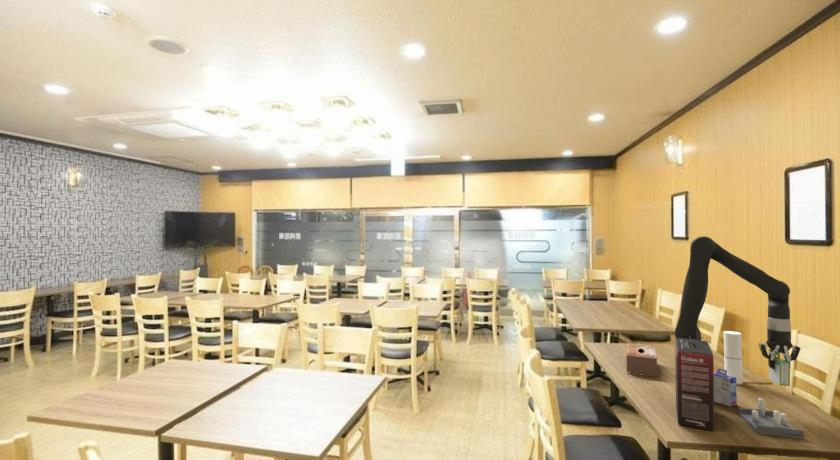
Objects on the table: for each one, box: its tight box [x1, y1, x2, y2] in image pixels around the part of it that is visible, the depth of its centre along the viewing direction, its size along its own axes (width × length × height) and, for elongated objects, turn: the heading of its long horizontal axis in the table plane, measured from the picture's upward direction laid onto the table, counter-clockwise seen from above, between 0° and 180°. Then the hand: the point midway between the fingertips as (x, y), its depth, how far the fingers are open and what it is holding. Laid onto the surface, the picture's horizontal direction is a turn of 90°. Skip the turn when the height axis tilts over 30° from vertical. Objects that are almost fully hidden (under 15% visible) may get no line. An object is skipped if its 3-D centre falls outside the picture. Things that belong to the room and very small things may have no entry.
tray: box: [738, 397, 805, 440], centre depth 158 cm, size 14×17×8 cm
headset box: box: [674, 335, 715, 432], centre depth 168 cm, size 24×13×33 cm, turn 149°
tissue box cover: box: [626, 343, 658, 378], centre depth 229 cm, size 26×14×10 cm, turn 152°
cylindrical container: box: [723, 330, 744, 385], centre depth 206 cm, size 7×7×25 cm
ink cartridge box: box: [714, 368, 738, 408], centre depth 181 cm, size 10×6×14 cm, turn 27°
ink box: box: [768, 348, 791, 387], centre depth 170 cm, size 7×4×13 cm, turn 168°
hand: (779, 368), depth 170 cm, fingers closed on ink box, 4 cm apart
